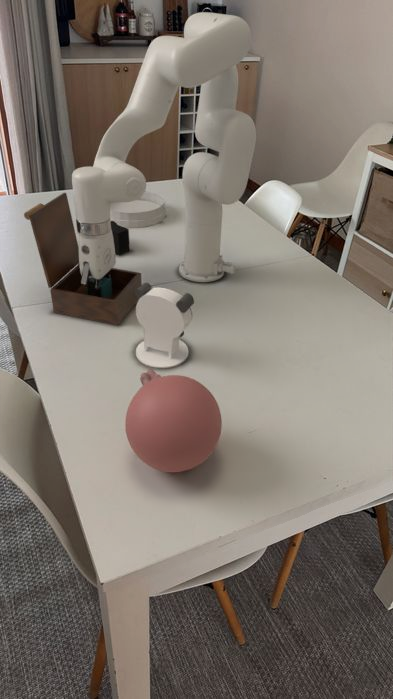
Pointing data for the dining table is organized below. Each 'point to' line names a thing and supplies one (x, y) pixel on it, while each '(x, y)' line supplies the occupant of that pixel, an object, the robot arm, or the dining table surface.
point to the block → (104, 287)
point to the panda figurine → (162, 325)
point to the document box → (76, 302)
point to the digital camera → (120, 238)
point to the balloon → (172, 422)
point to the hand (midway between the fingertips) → (99, 296)
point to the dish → (138, 211)
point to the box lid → (54, 237)
